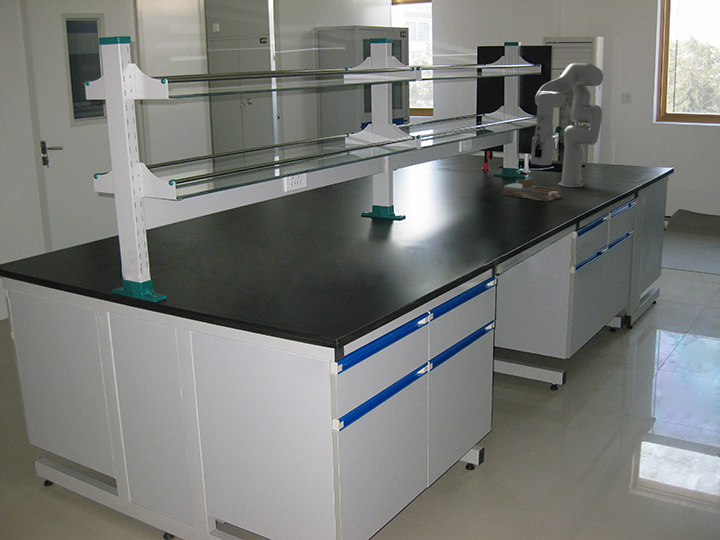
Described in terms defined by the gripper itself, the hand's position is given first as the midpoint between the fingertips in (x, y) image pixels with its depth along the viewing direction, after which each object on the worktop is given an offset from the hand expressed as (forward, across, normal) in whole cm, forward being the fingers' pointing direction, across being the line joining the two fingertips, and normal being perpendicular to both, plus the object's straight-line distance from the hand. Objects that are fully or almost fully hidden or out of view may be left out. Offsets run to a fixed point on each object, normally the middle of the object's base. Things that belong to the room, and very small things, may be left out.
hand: (541, 156), depth 365 cm
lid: (+17, 0, +11) cm, 20 cm away
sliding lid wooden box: (+20, 0, +4) cm, 20 cm away
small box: (+4, 0, 0) cm, 4 cm away
